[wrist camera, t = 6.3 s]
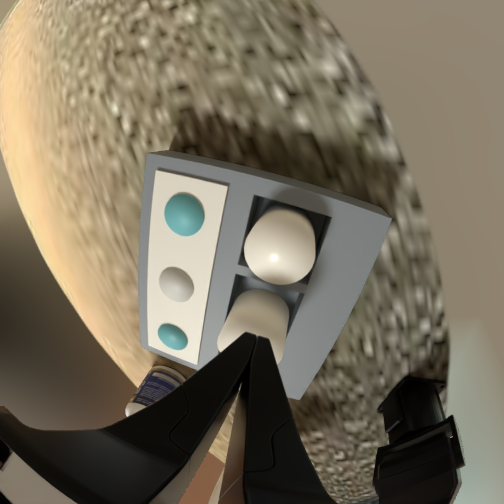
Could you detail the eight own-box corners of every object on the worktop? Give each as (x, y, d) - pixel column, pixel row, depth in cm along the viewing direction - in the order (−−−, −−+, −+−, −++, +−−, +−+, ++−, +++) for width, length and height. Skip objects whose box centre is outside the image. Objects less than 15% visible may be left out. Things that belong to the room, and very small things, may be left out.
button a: (322, 212, 17) (325, 230, 14) (304, 264, 19) (302, 292, 16) (264, 195, 18) (252, 209, 14) (251, 248, 20) (237, 273, 16)
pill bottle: (148, 358, 29) (108, 417, 20) (189, 372, 28) (154, 439, 20) (153, 384, 31) (120, 438, 22) (191, 397, 31) (162, 457, 22)
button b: (296, 298, 18) (292, 335, 14) (280, 340, 20) (272, 377, 16) (239, 281, 18) (222, 314, 15) (228, 325, 20) (213, 359, 16)
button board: (380, 207, 17) (393, 220, 14) (301, 377, 25) (299, 402, 22) (168, 150, 19) (144, 153, 16) (154, 329, 26) (139, 349, 23)
